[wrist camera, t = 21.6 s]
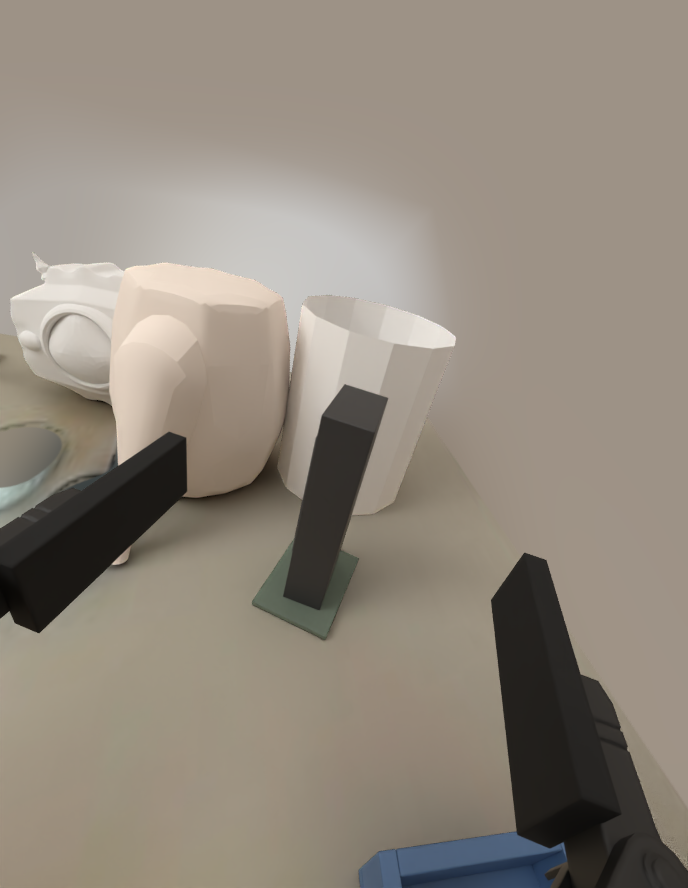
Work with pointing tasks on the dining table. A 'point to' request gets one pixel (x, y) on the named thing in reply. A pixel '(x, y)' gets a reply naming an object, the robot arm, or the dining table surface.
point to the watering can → (200, 371)
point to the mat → (298, 613)
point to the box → (465, 864)
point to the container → (362, 386)
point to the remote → (332, 491)
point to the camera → (70, 325)
